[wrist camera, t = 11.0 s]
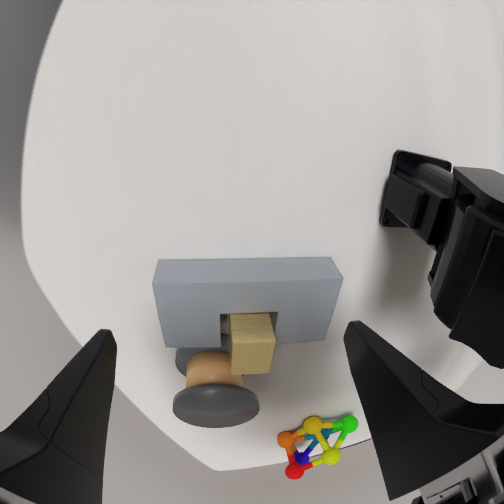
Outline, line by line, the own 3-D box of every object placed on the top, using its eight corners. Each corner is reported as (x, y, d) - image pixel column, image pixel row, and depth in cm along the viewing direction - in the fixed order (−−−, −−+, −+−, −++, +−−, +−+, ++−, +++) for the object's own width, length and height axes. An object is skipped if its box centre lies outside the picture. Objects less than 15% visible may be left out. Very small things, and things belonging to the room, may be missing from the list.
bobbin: (253, 331, 27) (263, 388, 22) (249, 376, 31) (256, 425, 26) (170, 333, 26) (165, 391, 21) (180, 378, 30) (179, 427, 25)
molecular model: (334, 407, 48) (291, 466, 44) (303, 388, 46) (254, 454, 41) (375, 427, 38) (325, 495, 33) (345, 409, 36) (287, 487, 31)
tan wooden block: (263, 288, 25) (275, 341, 19) (259, 321, 27) (269, 373, 22) (228, 288, 24) (232, 343, 19) (227, 322, 26) (231, 374, 21)
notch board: (330, 256, 24) (343, 278, 21) (315, 317, 27) (324, 339, 25) (158, 259, 22) (152, 283, 19) (168, 322, 25) (165, 347, 23)
